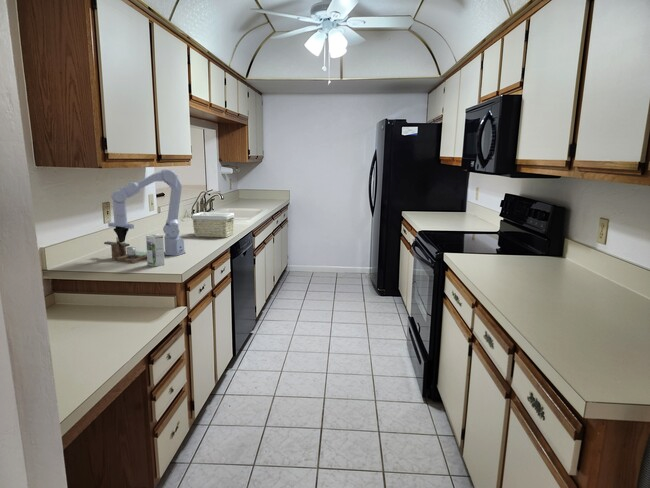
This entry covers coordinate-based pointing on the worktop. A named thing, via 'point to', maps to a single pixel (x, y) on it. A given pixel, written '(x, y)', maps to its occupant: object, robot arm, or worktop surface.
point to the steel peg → (131, 252)
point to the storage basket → (213, 224)
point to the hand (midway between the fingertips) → (122, 241)
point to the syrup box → (155, 250)
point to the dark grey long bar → (117, 243)
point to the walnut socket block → (124, 254)
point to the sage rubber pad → (141, 253)
